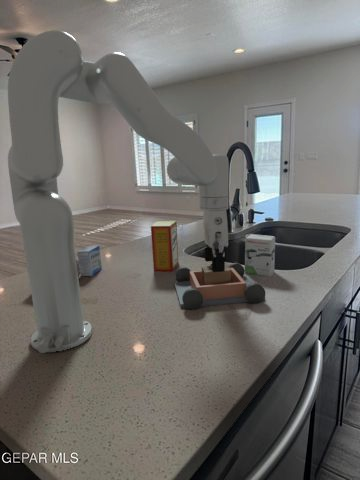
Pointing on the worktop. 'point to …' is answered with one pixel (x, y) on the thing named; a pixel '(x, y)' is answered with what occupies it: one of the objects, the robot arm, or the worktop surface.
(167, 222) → the baking soda box
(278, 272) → the worktop surface
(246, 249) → the ink box
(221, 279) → the tan block
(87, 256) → the medicine box
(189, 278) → the chassis
